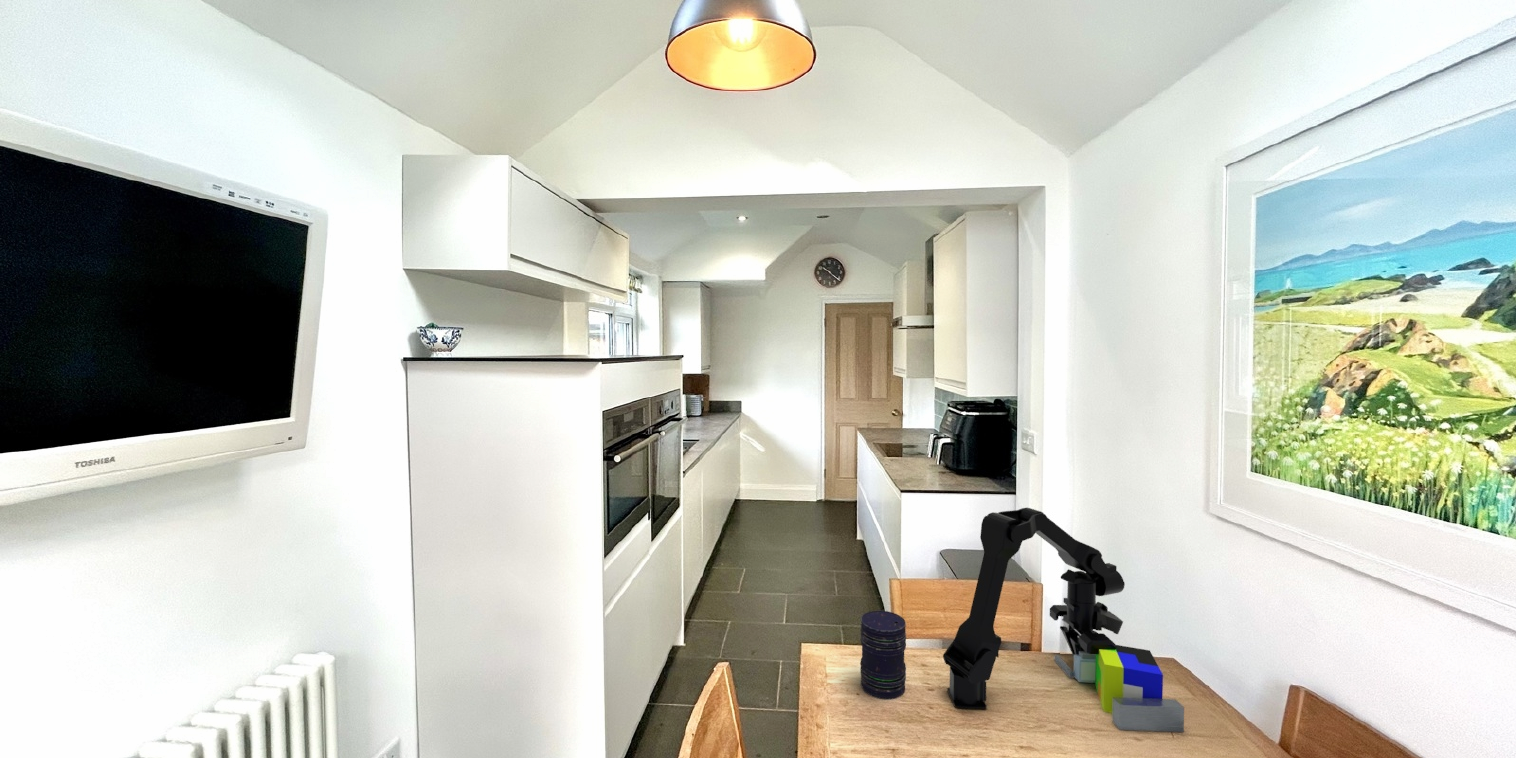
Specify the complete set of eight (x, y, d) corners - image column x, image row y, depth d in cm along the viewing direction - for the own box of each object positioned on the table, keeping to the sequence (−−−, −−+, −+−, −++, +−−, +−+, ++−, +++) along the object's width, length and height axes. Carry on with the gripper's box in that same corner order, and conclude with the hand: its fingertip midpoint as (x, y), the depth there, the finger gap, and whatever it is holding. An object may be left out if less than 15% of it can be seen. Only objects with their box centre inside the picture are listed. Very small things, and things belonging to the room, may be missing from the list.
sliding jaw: (1079, 682, 125) (1079, 656, 125) (1073, 675, 127) (1073, 650, 127) (1135, 684, 124) (1135, 657, 124) (1128, 677, 127) (1128, 651, 126)
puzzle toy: (1161, 723, 111) (1162, 674, 111) (1103, 711, 115) (1104, 664, 115) (1148, 695, 120) (1149, 650, 120) (1095, 685, 124) (1096, 641, 124)
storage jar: (856, 694, 121) (856, 626, 121) (864, 670, 131) (864, 607, 130) (903, 703, 118) (903, 634, 117) (908, 678, 127) (908, 614, 126)
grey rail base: (1113, 729, 109) (1114, 704, 109) (1054, 660, 134) (1054, 640, 134) (1189, 732, 108) (1190, 707, 108) (1115, 662, 133) (1116, 642, 133)
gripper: (1142, 617, 120) (1140, 689, 120) (1095, 583, 138) (1094, 644, 139) (1089, 616, 120) (1087, 687, 121) (1049, 582, 139) (1048, 643, 140)
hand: (1079, 664), depth 130 cm, fingers closed
